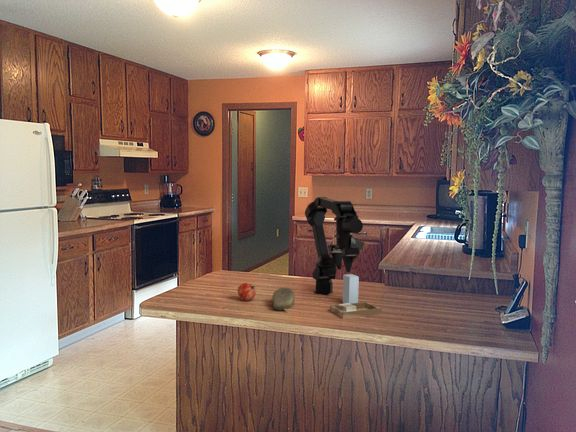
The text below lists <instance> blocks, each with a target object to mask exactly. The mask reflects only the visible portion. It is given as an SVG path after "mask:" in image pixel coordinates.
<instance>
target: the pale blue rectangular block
mask: <svg viewBox="0 0 576 432" xmlns="http://www.w3.org/2000/svg"><path fill="white" fill-rule="evenodd" d="M359 278H360V277H359V276H358V275H355V274H353V273H348V274H343V276H342V304H345V303H349V304H350V303H359V282H360V281H359Z"/></svg>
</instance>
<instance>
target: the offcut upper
mask: <svg viewBox="0 0 576 432" xmlns="http://www.w3.org/2000/svg"><path fill="white" fill-rule="evenodd" d="M338 305H339V306H338V308H339V309H341V310H343V311H345V312H349V311H356V306H354V305H352V304H349V303H345V304H343V303H339V304H338Z"/></svg>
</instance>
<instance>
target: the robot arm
mask: <svg viewBox="0 0 576 432" xmlns="http://www.w3.org/2000/svg"><path fill="white" fill-rule="evenodd" d="M328 210H330V211H331V213H332V214H334V216H335V217H334V218H333V221H334V222H335V234H334V238H335V239H336V241H335V242H336V244H335V243H334V244H330V245H329V246H328V243H327V239H326V235H325V230H324V229H325V228H324V221H325V218H326V216H325V215H326V214H327V212H328ZM304 216H305V218H306V221H307V223H308V224H309V226H311V229H312V234H313V238H314V245H315V249H316V254H317V259H316V262H315V269H314V270H313V271H312V273H311V274H312V279H314V280H315V291H314V292H313V294H318V295H330V294H331V293H333V292H334V291H333V290H334V287H333V281H332V280H335V278H336V276H337V270H338V271H340V270H342V263H343V265H344V268H345V271H346V273H348V274H350V273H351V269H352V265H353V262H354V260H355V259H356V258H357V257H359V255H361V253H360V251H363V250H364V246H365V242H364V241H361V240H358V238H357V237H354V235H353V234H359V233H361V232H362V230H363V229H364V224H363V221H362V220H361V219H359V215H358V213H357V212H356V209H355V206H354V205H353V203H352V202H351V201H350V200H335V199H332V198H328V197H326V196H318V197H316V198H315V199H314V200H313V201H312V202H310V203H309V204H307V207H306V208H305V211H304ZM330 255H331V256H330Z"/></svg>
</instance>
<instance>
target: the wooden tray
mask: <svg viewBox="0 0 576 432" xmlns="http://www.w3.org/2000/svg"><path fill="white" fill-rule="evenodd" d="M350 304H352V305H354V306H356V311H349V312H343V311H342V310H340V309H338V306H339V304H335V305H334V304H333V305H329V312H331V313H333V314H334V315H336V316H338V317H339V318H341V319H342V320H344V319H352V318H353V319H354V318H362V317H369V316H378V315H382V312H383V311H382V308H381V307H379V306H377V305H375V304H373V303H370V302H368V301H361V302H358V303H350Z"/></svg>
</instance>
